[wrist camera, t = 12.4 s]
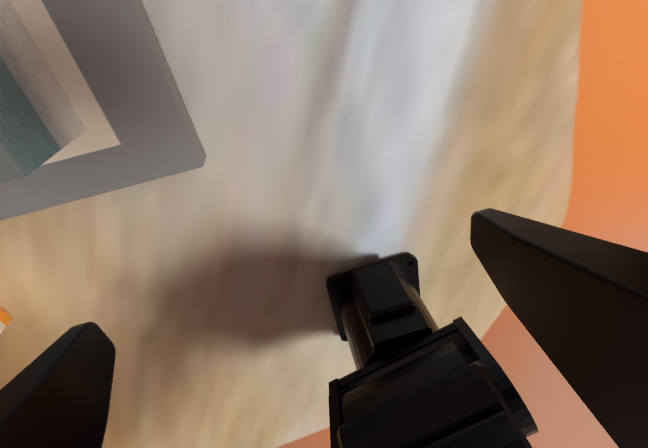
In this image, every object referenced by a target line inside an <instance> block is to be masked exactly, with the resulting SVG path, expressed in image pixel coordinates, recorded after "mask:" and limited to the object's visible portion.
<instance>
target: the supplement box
mask: <svg viewBox="0 0 648 448" xmlns="http://www.w3.org/2000/svg"><path fill="white" fill-rule="evenodd" d="M10 320H11V317H10V316H9V314H8V313H7V312H6V311H4V310H3V309H2V308H1V307H0V334H1V333H2V331H3V330H4V328H5V327H6V326H7V324H8V323H9V322H10Z"/></svg>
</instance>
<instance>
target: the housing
mask: <svg viewBox="0 0 648 448" xmlns="http://www.w3.org/2000/svg"><path fill="white" fill-rule="evenodd" d="M86 130H87V129H86V128H85V126H84V124H83V123H82V121H81V119H80V118H79V116H78V114H77V113H76V111H75V109H74V107H73V106H72V104H71V102H70V101H69V99H68V97H67V96H66V94H65V92H64V91H63V89H62V87H61V86H60V84H59V82H58V80H57V79H56V77H55V75H54V74H53V72H52V70H51V69H50V67H49V65H48V64H47V62H46V60H45V58H44V57H43V55H42V53H41V52H40V50H39V48H38V47H37V45H36V43H35V42H34V40H33V38H32V37H31V35H30V33H29V31H28V30H27V28H26V26H25V25H24V23H23V21H22V20H21V18H20V16H19V15H18V13H17V11H16V9H15V8H14V6H13V4H12V3H11V1H10V0H0V183H4V182H8V181H12V180H16V179H20V178H24V177H27V176H28V175H29V174H31V173H32V172H33V171H34V170H36V169H37V168H38V167H40V166H41V165H42V164H43V163H45V162H46V161H47V160H49V159H50V158H51V157H52V156H54V155H55V154H56V153H58V152H59V151H60V150H61V149H63V148H64V147H65V146H67V145H68V144H69V143H70V142H72V141H73V140H74V139H76V138H77V137H78V136H79V135H81V134H82V133H83V132H85V131H86Z"/></svg>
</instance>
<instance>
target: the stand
mask: <svg viewBox="0 0 648 448" xmlns="http://www.w3.org/2000/svg"><path fill="white" fill-rule="evenodd" d="M10 1H11V3H12V4H13V6H14V8H15V9H16V11H17V13H18V15H19V16H20V18H21V20H22V21H23V23H24V25H25V26H26V28H27V30H28V31H29V33H30V35H31V37H32V38H33V40H34V42H35V43H36V45H37V47H38V48H39V50H40V52H41V53H42V55H43V57H44V58H45V60H46V62H47V64H48V65H49V67H50V69H51V70H52V72H53V74H54V75H55V77H56V79H57V80H58V82H59V84H60V86H61V87H62V89H63V91H64V92H65V94H66V96H67V97H68V99H69V101H70V102H71V104H72V106H73V107H74V109H75V111H76V113H77V114H78V116H79V118H80V119H81V121H82V123H83V124H84V126H85V128H86V129H87V130H86V131H85V132H83V133H82V134H81V135H79V136H78V137H77V138H76V139H74V140H73V141H72V142H70V143H69V144H68V145H67V146H65V147H64V148H63V149H61V150H60V151H59V152H58V153H56V154H55V155H54V156H52V157H51V158H50V159H49V160H47V161H46V162H45V163H43V164H42V165H41V166H40V167H38V168H37V169H36V170H34V171H33V172H32V173H31V174H29V175H28V176H27V177H24V178H20V179H16V180H12V181H8V182H4V183H0V221H1V220H4V219H8V218H12V217H16V216H19V215H23V214H27V213H31V212H34V211H38V210H42V209H46V208H49V207H53V206H57V205H61V204H64V203H68V202H72V201H76V200H79V199H83V198H87V197H91V196H94V195H98V194H102V193H106V192H109V191H113V190H117V189H120V188H124V187H128V186H132V185H135V184H139V183H143V182H147V181H150V180H154V179H158V178H162V177H165V176H169V175H173V174H177V173H180V172H184V171H188V170H192V169H195V168H199V167H203V165H204V161H205V157H206V154H205V152H204V149H203V147H202V145H201V142H200V140H199V138H198V135H197V133H196V130H195V128H194V126H193V123H192V121H191V118H190V116H189V114H188V111H187V109H186V106H185V104H184V102H183V99H182V97H181V94H180V92H179V90H178V87H177V85H176V83H175V80H174V78H173V75H172V73H171V71H170V68H169V66H168V63H167V61H166V59H165V56H164V54H163V51H162V49H161V47H160V44H159V42H158V40H157V37H156V35H155V32H154V30H153V28H152V25H151V23H150V20H149V18H148V16H147V13H146V11H145V8H144V6H143V4H142V1H141V0H10Z"/></svg>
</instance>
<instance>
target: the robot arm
mask: <svg viewBox="0 0 648 448" xmlns="http://www.w3.org/2000/svg"><path fill="white" fill-rule="evenodd" d="M470 241H471V246H472V248H473V250H474V252H475V254H476V255H477V257H478V259H479V260H480V262H481V263H482V265H483V267H484V268H485V270H486V272H487V273H488V275H489V277H490V278H491V280H492V281H493V283H494V285H495V286H496V288H497V290H498V291H499V293H500V294H501V296H502V297H503V299H504V300H505V302H506V303H507V304H508V306H509V307H510V308H511V310H512V311H513V312H514V314H515V315H516V316H517V318H518V319H519V320H520V321H521V323H522V324H523V325H524V326H525V328H526V329H527V330H528V332H529V333H530V334H531V335H532V337H533V338H534V339H535V341H536V342H537V343H538V344H539V346H540V347H541V348H542V350H543V351H544V352H545V353H546V355H547V356H548V357H549V359H550V360H551V361H552V362H553V364H554V365H555V366H556V367H557V369H558V370H559V371H560V373H561V374H562V375H563V376H564V378H565V379H566V380H567V382H568V383H569V384H570V385H571V387H572V388H573V389H574V391H575V392H576V393H577V394H578V396H579V397H580V398H581V400H582V401H583V402H584V403H585V404H586V406H587V407H588V409H589V410H590V411H591V412H592V413H593V415H594V416H595V417H596V419H597V420H598V421H599V423H600V424H601V425H602V426H603V428H604V429H605V430H606V432H607V433H608V434H609V435H610V437H611V438H612V439H613V440H614V442H615V443H616V444H617V446H618V447H619V448H648V253H647V252H644V251H640V250H637V249H633V248H630V247H626V246H623V245H619V244H615V243H611V242H608V241H604V240H601V239H598V238H594V237H590V236H587V235H584V234H580V233H576V232H573V231H569V230H566V229H562V228H559V227H555V226H552V225H548V224H545V223H541V222H538V221H534V220H531V219H527V218H523V217H520V216H516V215H513V214H509V213H506V212H502V211H499V210H495V209H491V208H488V209H484V210H481V211H477V212H474V213H473V214H472V217H471V236H470ZM409 261H411V262H409ZM408 262H409V263H408ZM332 283H335V284H332ZM326 286H327V290H328V294H329V297H330V301H331V305H332V308H333V312H334V315H335V319H336V323H337V326H338V330H339V334H340V337H341V340H343V341H348V342H349V346H350V349H351V352H352V356H353V359H354V362H355V365H356V369H357V370H356V371H354V372H352V373H350V374H348V375H346V376H344V377H342V378H340V379H335V380H333V381H331V382H329V416H330V438H331V448H532V447H531V445H530V443H529V442H528V440H527V439H526V437H528V436H530V435H532V434H534V433H537V432H538V428H537V426H536V424H535V422H534V420H533V418H532V416H531V414H530V412H529V410H528V409H527V407H526V405H525V404H524V402H523V400H522V399H521V397H520V395H519V394H518V392H517V391H516V389H515V387H514V386H513V384H512V383H511V381H510V380H509V378H508V377H507V375H506V374H505V373H504V371H503V370H502V368H501V367H500V365H499V364H498V363H497V361H496V360H495V359H494V358H493V356H492V355H491V354H490V353H489V351H488V350H487V349H486V347H485V346H484V345H483V344H482V342H481V341H480V340H479V339H478V337H477V336H476V335H475V334H474V332H473V331H472V330H471V328H470V327H469V326H468V325H467V323H466V322H465V321H464V320H463V318H462V317H459V318H457V319H455V320H453V323H451V324H449V325H447V326H445V327H443V328H441V329H439V328H438V326H437V325H436V323H435V321H434V320H433V318H432V316H431V315H430V313H429V311H428V309H427V308H426V306H425V304H424V303H423V301H422V299H421V298H420V289H419V275H418V261H417V259H416V257H415V256H414V255H412V254H408V255H404V256H401V257H397V258H394V259H390V260H387V261H383V262H380V263H376V264H373V265H369V266H366V267H362V268H359V269H355V270H352V271H348V272H345V273H341V274H338V275H334V276H331V277H329V278H328V279H327V280H326ZM115 353H116V352H115V347H114V345H113V343H112V341H111V340H110V339H109V338H108V337H107V336H106V334H105V333H104V332H103V331H102V330H101V329H100V327H99V326H98V325H97V324H96V323H94V322H87V323H83V324H80V325H76V326H74V327H72V328H70V329H69V330H68V331H67V332H66V333H64V334H63V335H62V336H61V337H60V338H59V339H58V340H56V341H55V342H54V343H53V344H52V345H51V346H50V347H49V348H47V349H46V350H45V351H44V352H43V353H42V354H41V355H40V356H38V357H37V358H36V359H35V360H34V361H33V362H32V363H30V364H29V365H28V366H27V367H26V368H25V369H24V370H23V371H21V372H20V373H19V374H18V375H17V376H16V377H15V378H14V379H12V380H11V381H10V382H9V383H8V384H7V385H6V386H4V387H3V388H2V389H1V390H0V448H102V444H103V439H104V435H105V430H106V425H107V420H108V414H109V407H110V398H111V389H112V381H113V372H114V363H115Z"/></svg>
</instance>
